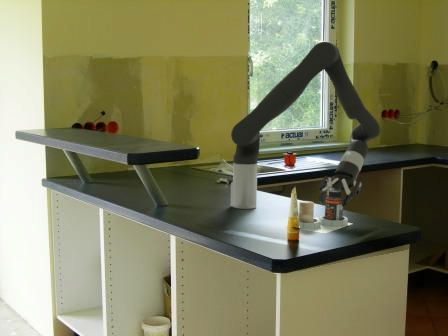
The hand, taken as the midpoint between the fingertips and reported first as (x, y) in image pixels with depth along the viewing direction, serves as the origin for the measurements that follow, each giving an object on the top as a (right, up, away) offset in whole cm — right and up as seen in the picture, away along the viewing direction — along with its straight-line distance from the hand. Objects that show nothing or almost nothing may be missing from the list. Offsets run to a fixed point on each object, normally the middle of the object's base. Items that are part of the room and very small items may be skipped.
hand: (332, 204), depth 221 cm
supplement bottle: (+1, -7, +2) cm, 7 cm away
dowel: (-9, -7, -2) cm, 12 cm away
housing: (-4, -8, 0) cm, 9 cm away
